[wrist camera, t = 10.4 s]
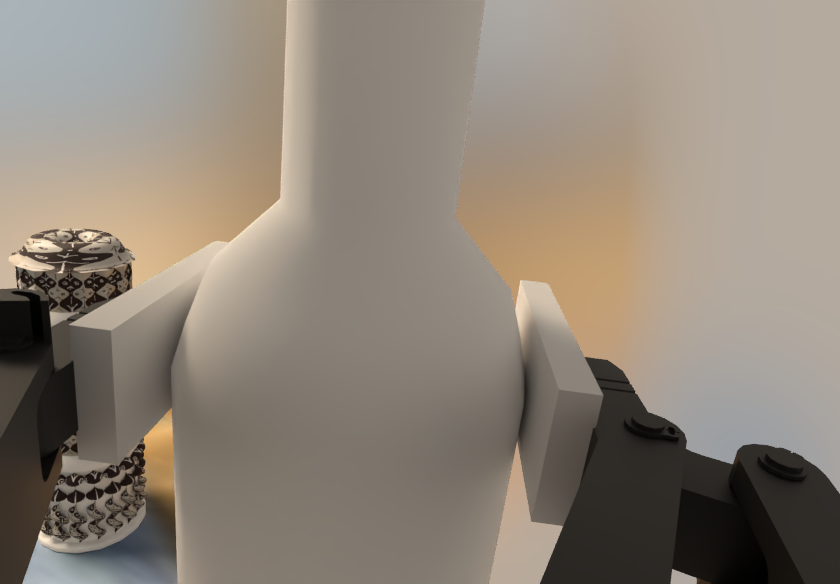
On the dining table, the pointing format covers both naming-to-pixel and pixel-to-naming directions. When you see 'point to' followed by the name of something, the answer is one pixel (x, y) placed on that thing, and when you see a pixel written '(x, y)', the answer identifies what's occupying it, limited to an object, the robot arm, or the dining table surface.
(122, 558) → the dining table surface
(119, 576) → the dining table surface
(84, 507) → the decorative candle
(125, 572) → the dining table surface
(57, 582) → the dining table surface
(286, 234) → the bottle
